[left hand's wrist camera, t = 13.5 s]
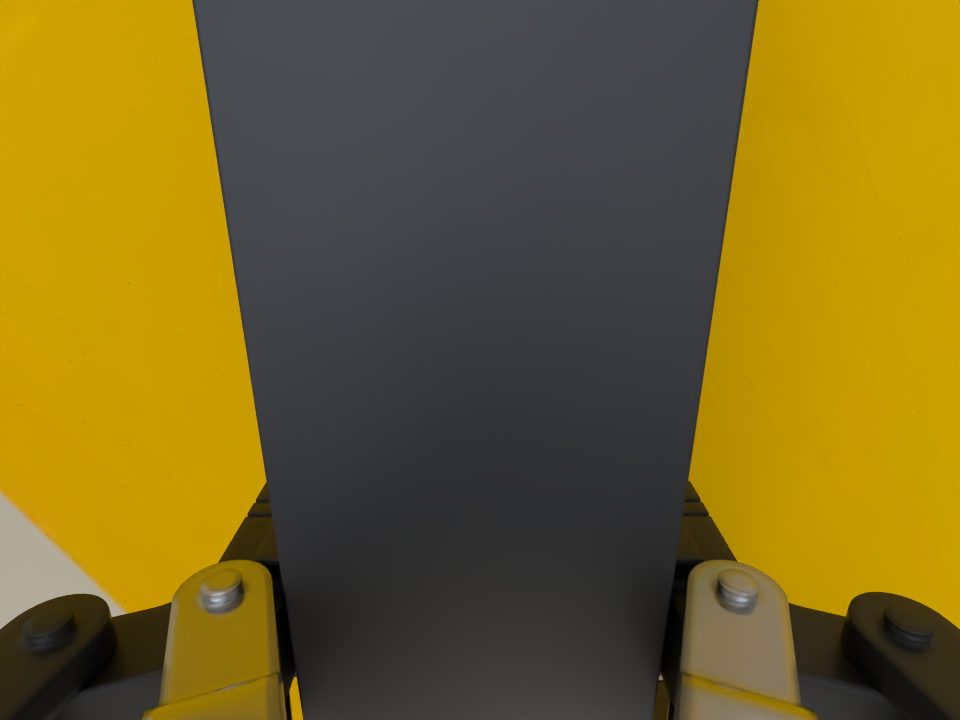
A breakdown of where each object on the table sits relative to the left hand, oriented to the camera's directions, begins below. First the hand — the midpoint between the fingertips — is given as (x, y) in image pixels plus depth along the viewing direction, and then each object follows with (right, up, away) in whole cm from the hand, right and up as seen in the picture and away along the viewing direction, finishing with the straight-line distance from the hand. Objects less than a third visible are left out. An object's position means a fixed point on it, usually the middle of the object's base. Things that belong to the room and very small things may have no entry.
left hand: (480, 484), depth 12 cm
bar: (0, +11, 0) cm, 11 cm away
